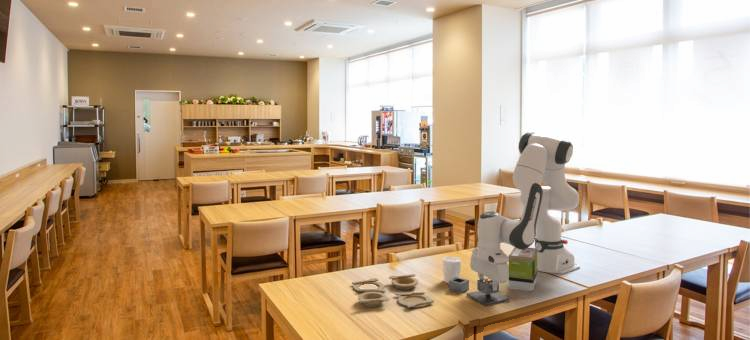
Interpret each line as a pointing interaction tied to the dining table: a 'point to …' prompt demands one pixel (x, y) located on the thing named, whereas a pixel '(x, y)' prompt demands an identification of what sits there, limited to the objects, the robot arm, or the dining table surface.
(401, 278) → the tableware set
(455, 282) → the link
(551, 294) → the dining table surface
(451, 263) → the white cup
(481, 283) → the link
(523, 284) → the tea box
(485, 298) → the post
